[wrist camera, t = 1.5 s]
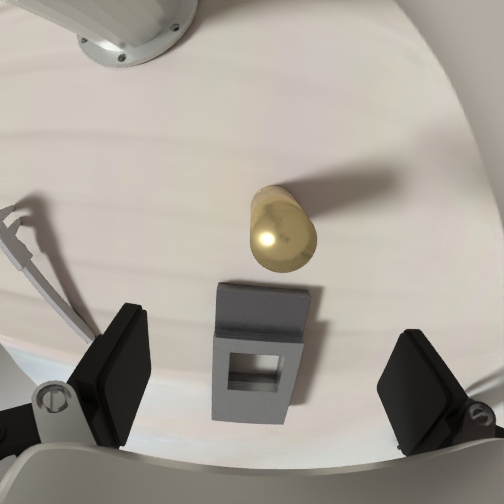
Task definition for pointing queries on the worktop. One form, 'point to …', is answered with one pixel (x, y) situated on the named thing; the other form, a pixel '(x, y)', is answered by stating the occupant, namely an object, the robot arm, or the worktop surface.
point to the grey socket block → (256, 351)
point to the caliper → (38, 275)
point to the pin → (280, 231)
